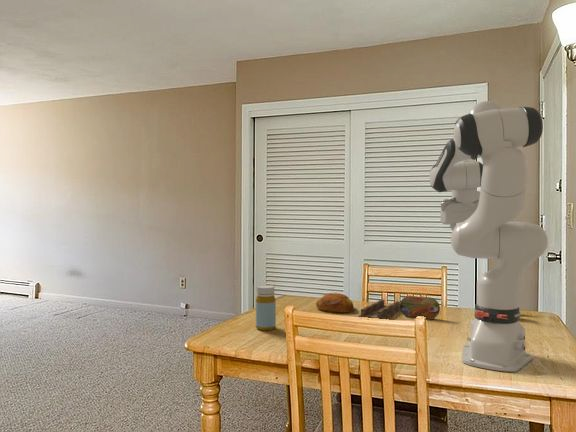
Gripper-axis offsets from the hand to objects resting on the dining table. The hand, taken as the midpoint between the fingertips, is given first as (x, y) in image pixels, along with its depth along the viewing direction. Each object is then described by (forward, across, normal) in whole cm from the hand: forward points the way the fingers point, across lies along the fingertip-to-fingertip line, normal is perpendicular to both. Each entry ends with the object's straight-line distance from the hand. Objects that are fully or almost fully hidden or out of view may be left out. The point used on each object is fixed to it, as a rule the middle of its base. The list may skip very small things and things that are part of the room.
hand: (466, 233), depth 173 cm
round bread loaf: (+30, -41, +34) cm, 61 cm away
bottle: (+26, -76, +15) cm, 82 cm away
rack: (+31, -27, +20) cm, 46 cm away
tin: (+32, -16, +10) cm, 37 cm away
